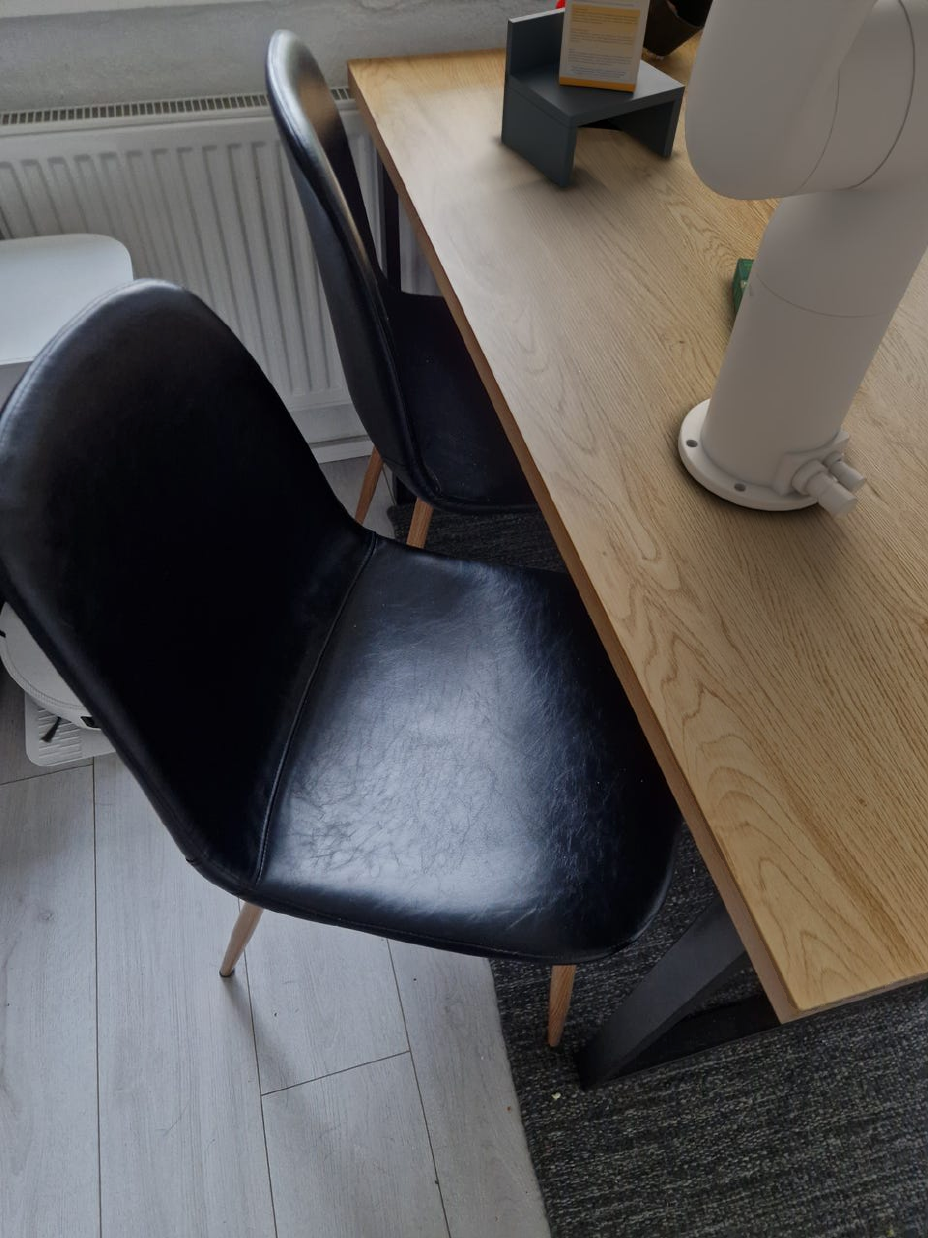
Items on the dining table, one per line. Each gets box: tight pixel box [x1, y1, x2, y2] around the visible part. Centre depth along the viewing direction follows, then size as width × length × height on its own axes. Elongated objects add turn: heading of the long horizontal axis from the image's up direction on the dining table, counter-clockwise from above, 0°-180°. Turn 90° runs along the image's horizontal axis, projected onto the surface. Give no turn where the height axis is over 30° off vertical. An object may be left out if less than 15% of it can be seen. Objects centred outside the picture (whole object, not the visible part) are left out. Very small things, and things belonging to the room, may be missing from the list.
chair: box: [500, 8, 686, 188], centre depth 94 cm, size 12×15×12 cm
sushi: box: [642, 0, 713, 61], centre depth 110 cm, size 8×8×8 cm
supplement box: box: [559, 0, 650, 92], centre depth 88 cm, size 8×5×13 cm, turn 78°
